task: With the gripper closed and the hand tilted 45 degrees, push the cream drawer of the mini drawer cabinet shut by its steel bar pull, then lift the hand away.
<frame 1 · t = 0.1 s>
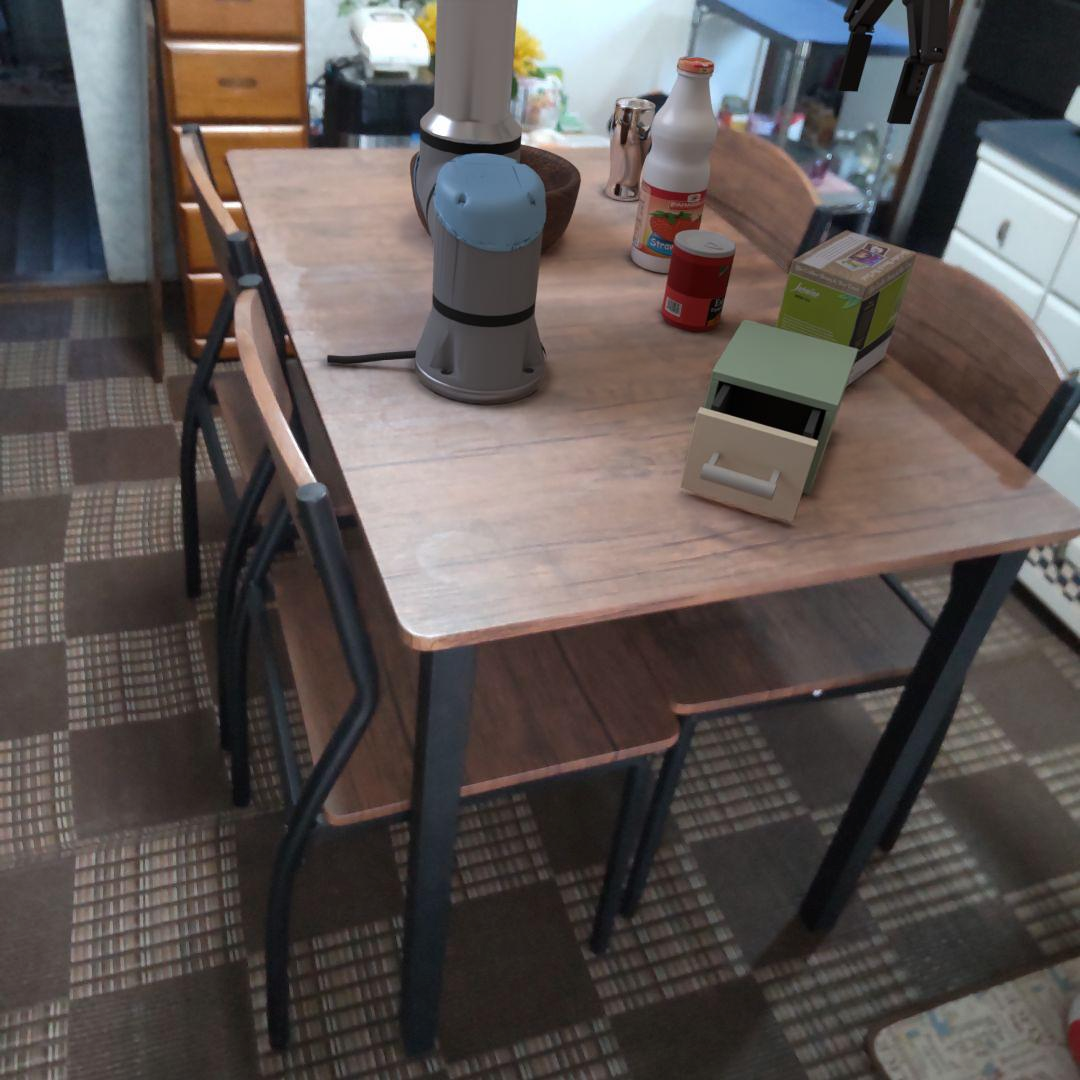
hand: (871, 106, 122), 28 cm above the table, tool pointing down, fingers open, 13 cm apart
mini drawer cabinet: (763, 446, 111), on the table
wooden bowl: (491, 235, 152), on the table
fruit juice: (660, 263, 149), on the table
cabinet drawer: (754, 447, 100), point 5 cm above the table, slide at 6.0 cm
silver metal tumbler: (622, 196, 171), on the table
tea box: (824, 365, 128), on the table
canned food: (689, 320, 135), on the table
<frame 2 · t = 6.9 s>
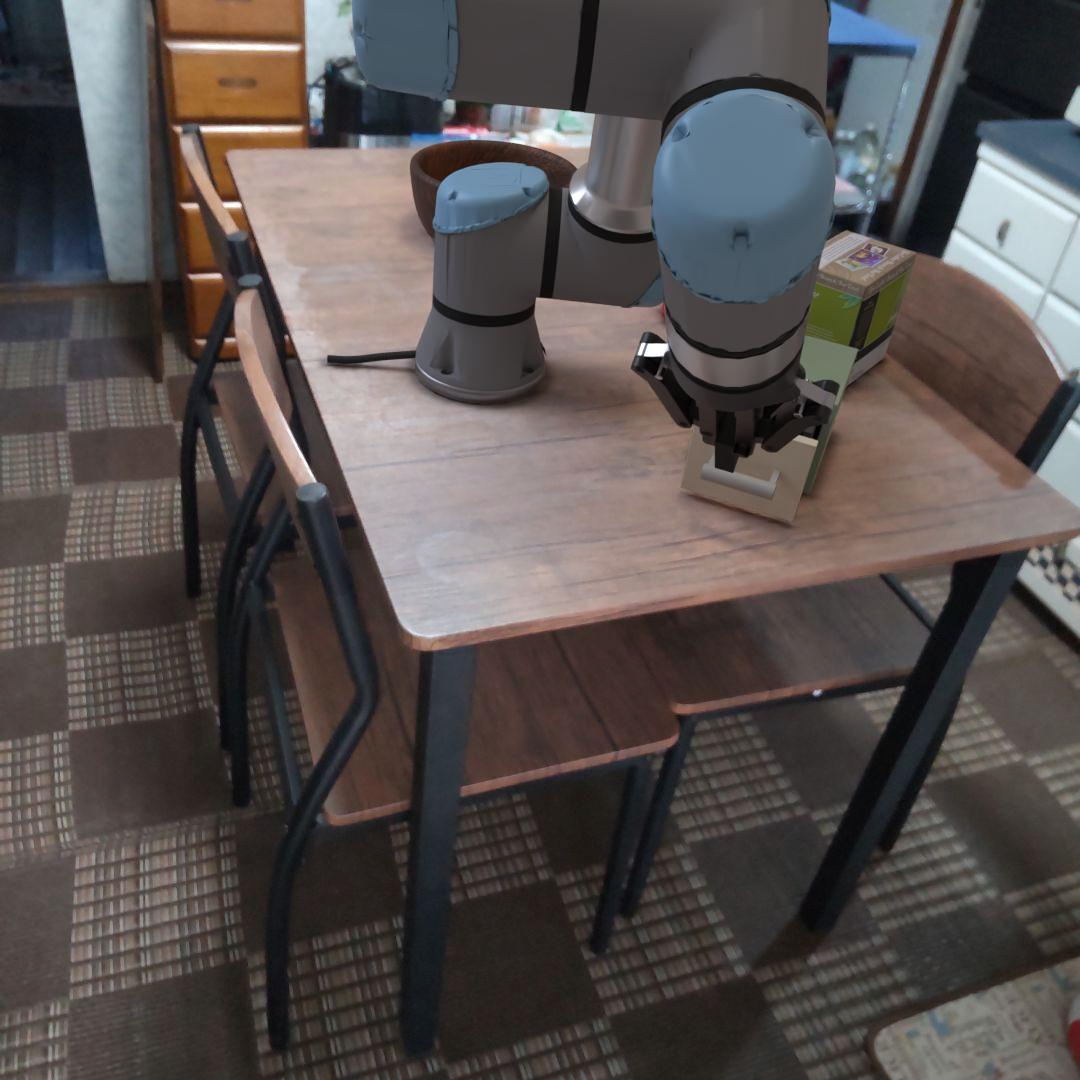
hand: (729, 454, 77), 17 cm above the table, tool tilted 40°, fingers closed
nothing on the table moved.
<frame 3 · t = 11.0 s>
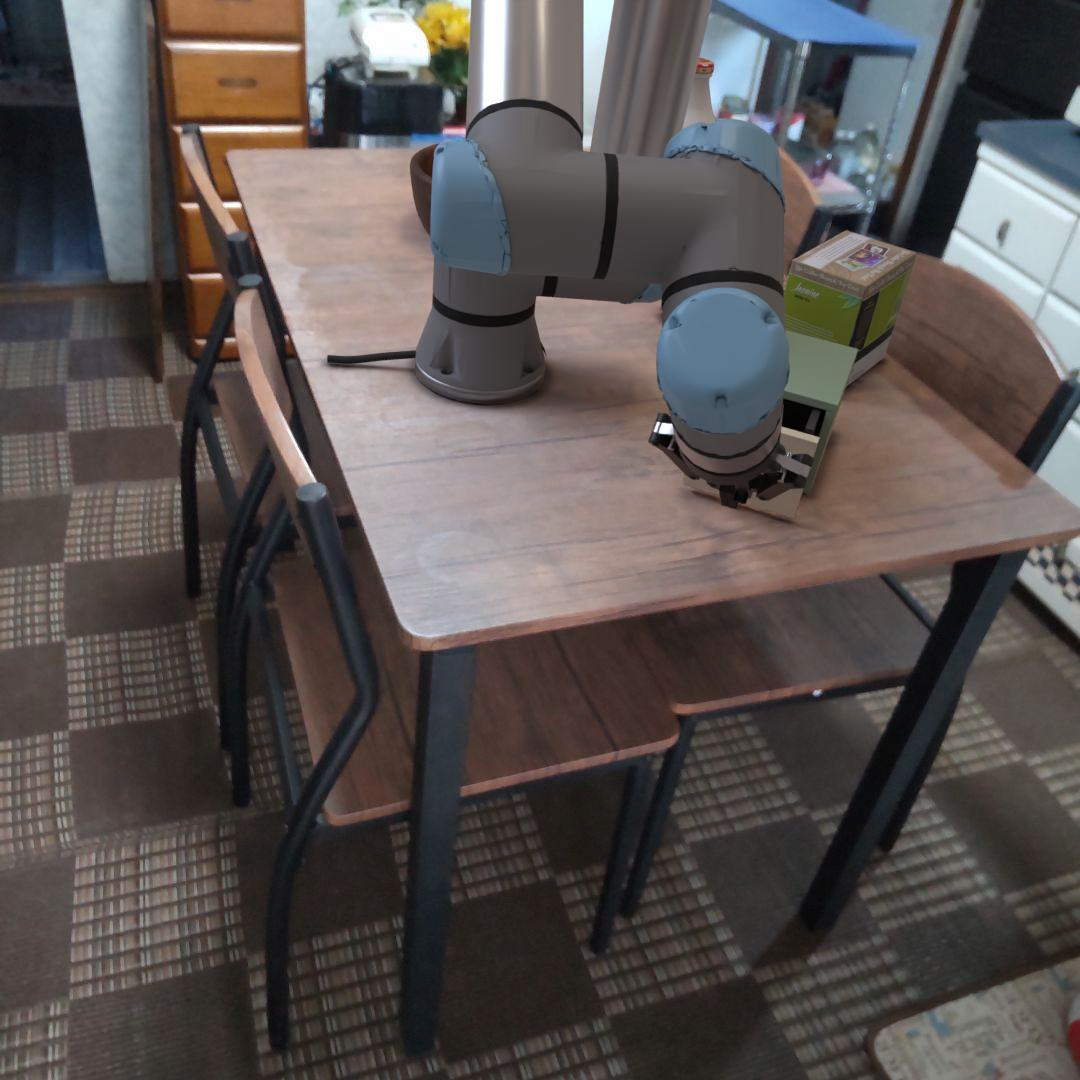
hand: (733, 493, 93), 5 cm above the table, tool tilted 45°, fingers closed
cabinet drawer: (756, 444, 100), point 5 cm above the table, slide at 5.3 cm, touching gripper
everything else where it was.
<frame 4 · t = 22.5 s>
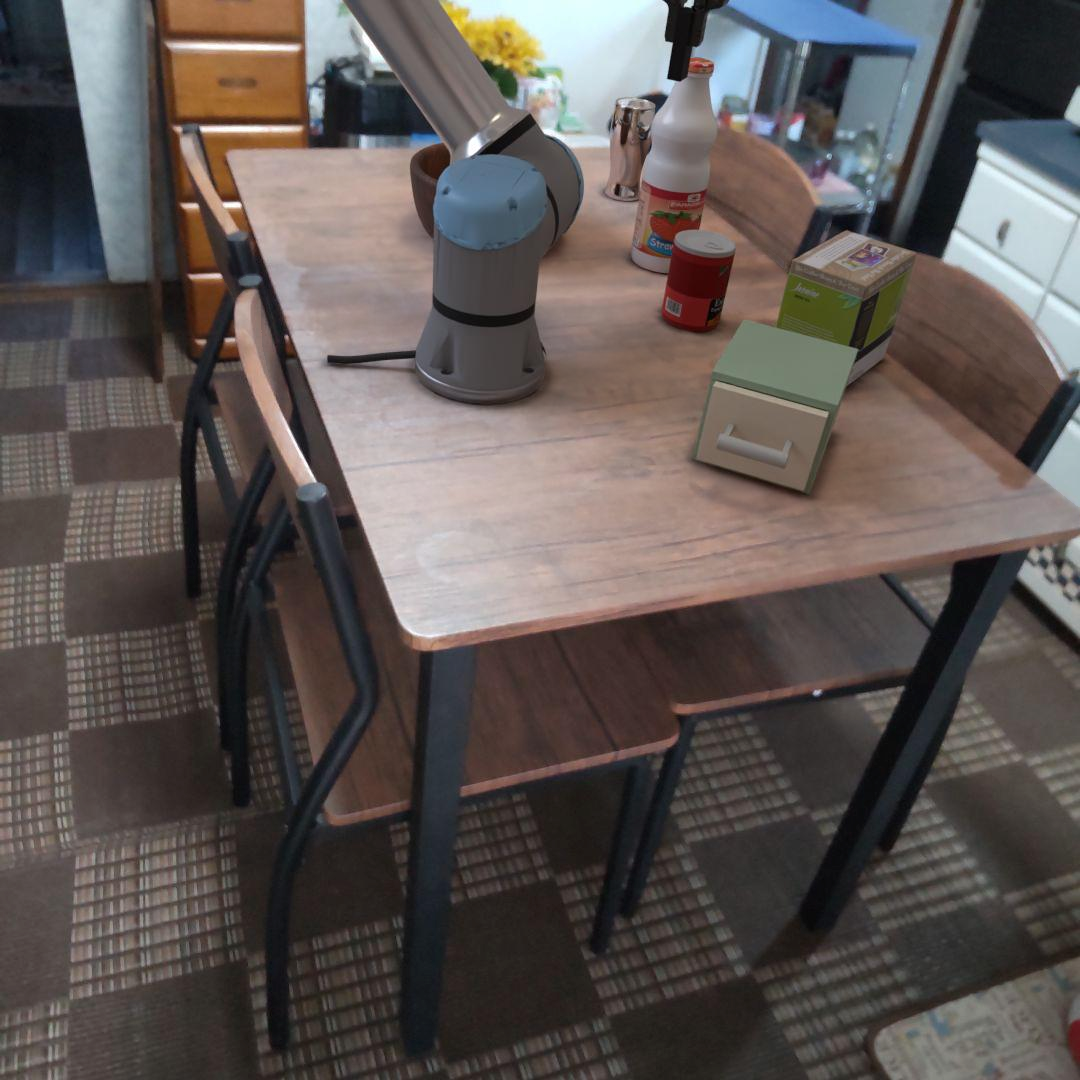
hand: (677, 77, 105), 32 cm above the table, tool pointing down, fingers closed
cabinet drawer: (767, 420, 104), point 5 cm above the table, slide at 0.0 cm, touching mini drawer cabinet
everything else where it was.
at the end: cabinet drawer slide at 0.0 cm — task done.
